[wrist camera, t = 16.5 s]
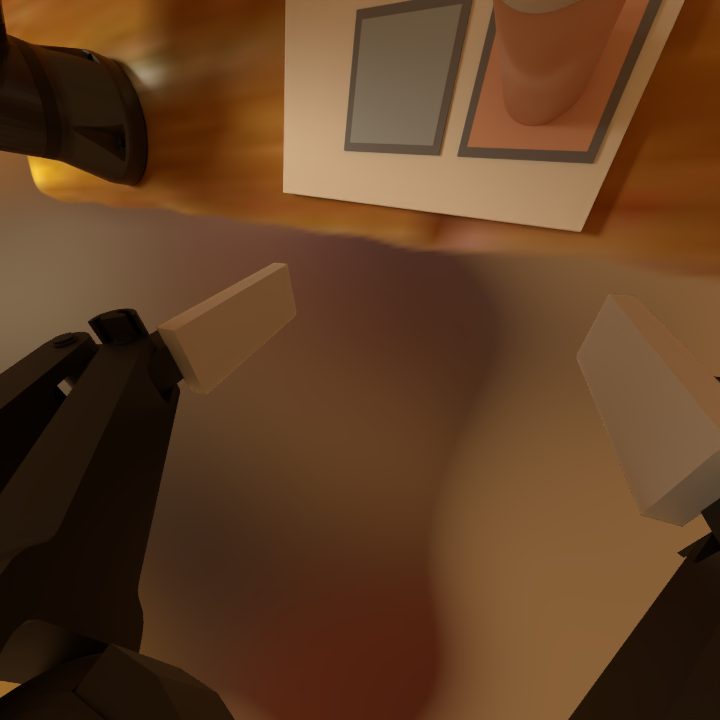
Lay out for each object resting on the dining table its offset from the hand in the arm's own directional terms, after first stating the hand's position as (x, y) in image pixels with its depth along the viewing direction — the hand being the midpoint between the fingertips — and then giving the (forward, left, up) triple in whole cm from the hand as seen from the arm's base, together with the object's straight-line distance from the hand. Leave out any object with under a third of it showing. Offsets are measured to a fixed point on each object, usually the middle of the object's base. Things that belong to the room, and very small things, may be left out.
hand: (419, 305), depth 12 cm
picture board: (-15, -2, -16) cm, 22 cm away
